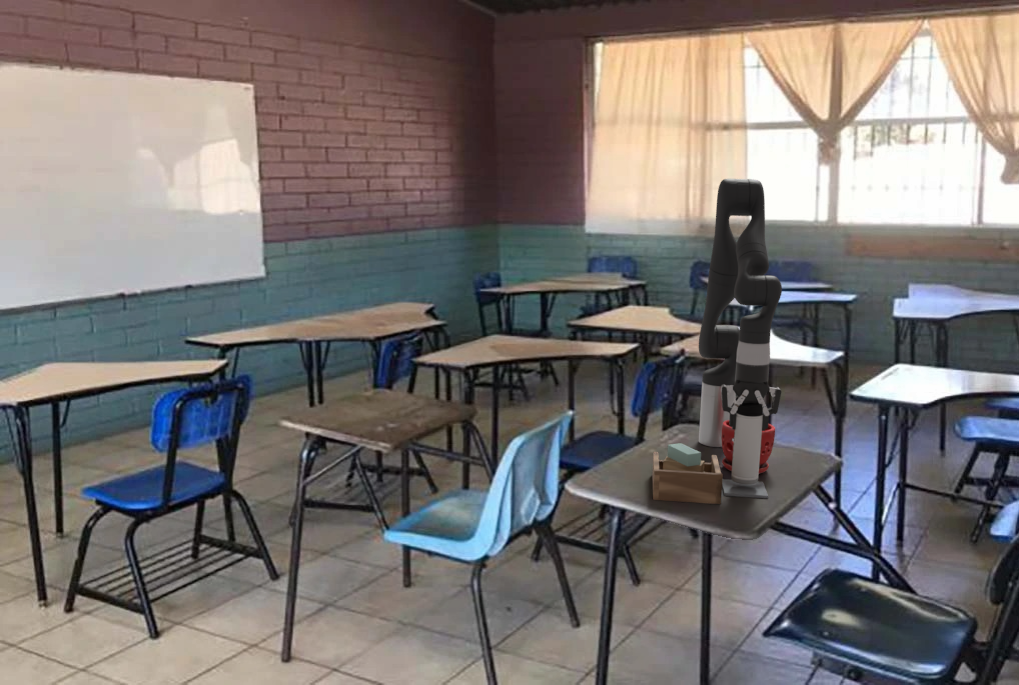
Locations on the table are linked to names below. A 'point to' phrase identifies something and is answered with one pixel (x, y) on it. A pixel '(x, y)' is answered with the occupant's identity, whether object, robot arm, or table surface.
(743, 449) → the travel mug
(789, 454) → the table surface
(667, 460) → the offcut mid
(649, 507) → the table surface
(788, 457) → the table surface
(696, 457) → the offcut top
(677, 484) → the wooden box
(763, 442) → the plant pot
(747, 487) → the mat
